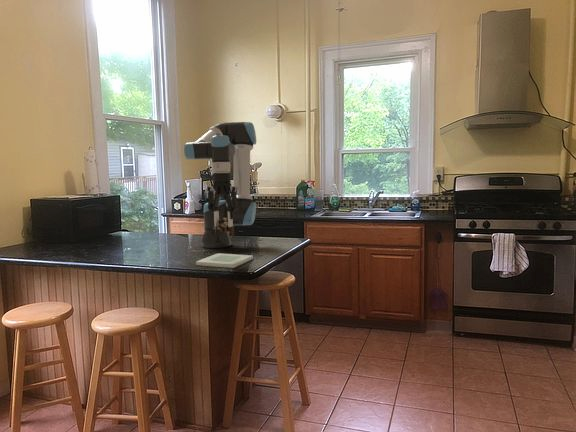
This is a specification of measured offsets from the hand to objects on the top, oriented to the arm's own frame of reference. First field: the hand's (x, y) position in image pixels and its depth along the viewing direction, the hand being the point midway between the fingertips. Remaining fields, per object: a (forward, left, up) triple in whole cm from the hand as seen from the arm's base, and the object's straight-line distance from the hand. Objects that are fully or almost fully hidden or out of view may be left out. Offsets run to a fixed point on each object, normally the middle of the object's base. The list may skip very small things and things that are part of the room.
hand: (223, 226), depth 195 cm
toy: (+1, 0, -3) cm, 3 cm away
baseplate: (0, 0, -16) cm, 16 cm away
